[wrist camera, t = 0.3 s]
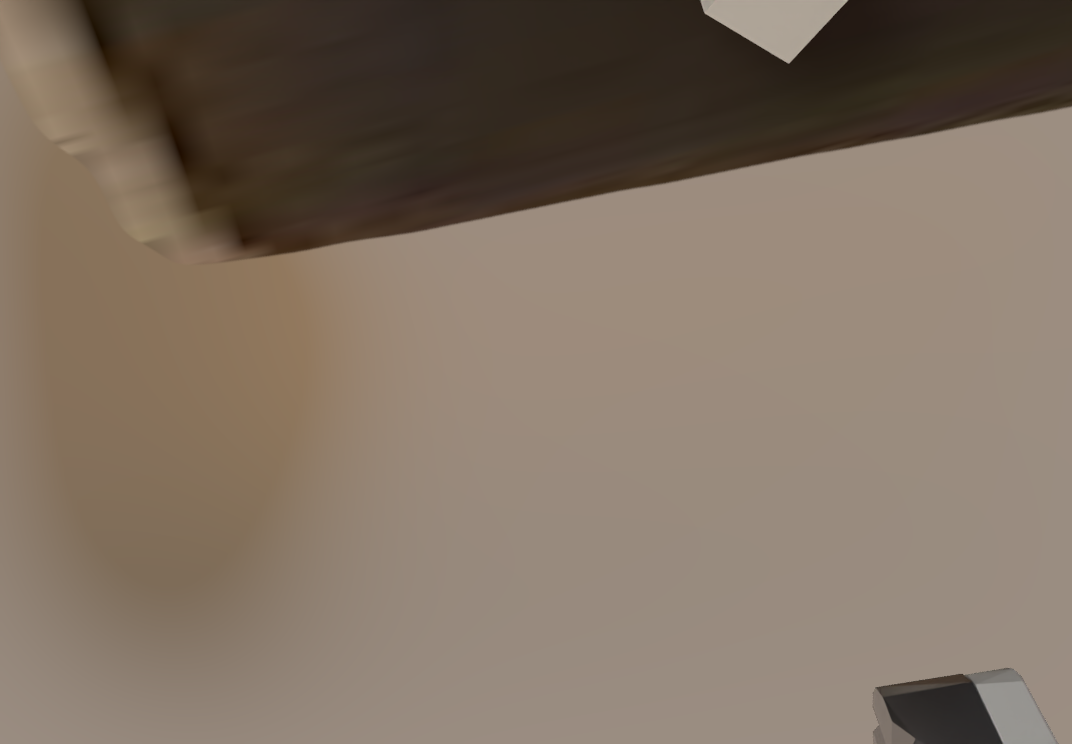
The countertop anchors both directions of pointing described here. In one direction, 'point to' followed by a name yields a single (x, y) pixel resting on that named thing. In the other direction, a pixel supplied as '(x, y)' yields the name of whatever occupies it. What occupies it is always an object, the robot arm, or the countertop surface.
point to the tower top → (774, 21)
